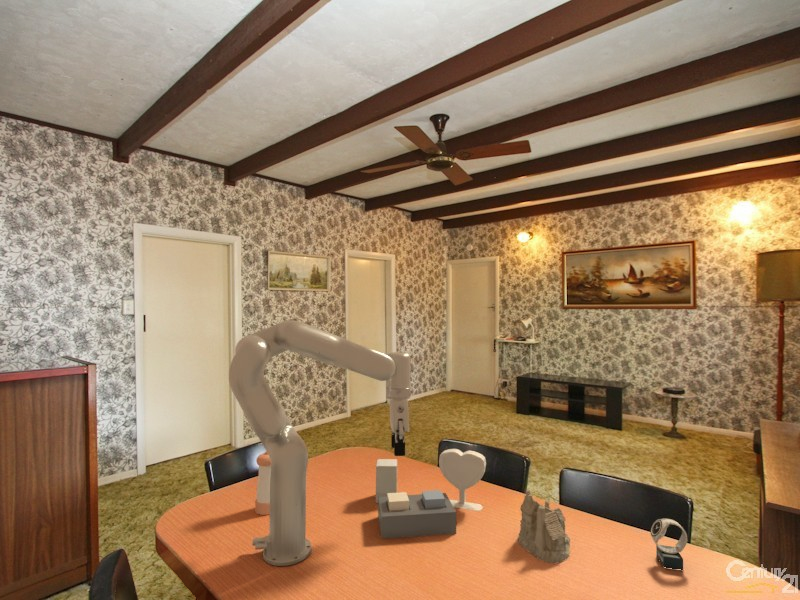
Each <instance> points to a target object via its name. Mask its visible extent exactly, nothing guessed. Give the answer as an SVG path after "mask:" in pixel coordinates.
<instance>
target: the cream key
mask: <svg viewBox="0 0 800 600" xmlns="http://www.w3.org/2000/svg"><path fill="white" fill-rule="evenodd" d="M407 495H408V493H407V491H401V492H397V493H387V508H388V511H398V510H409V499H408V496H407Z"/></svg>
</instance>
